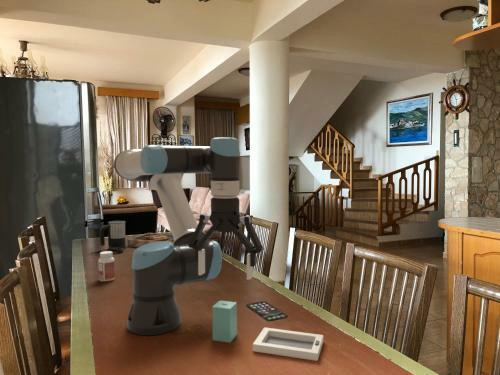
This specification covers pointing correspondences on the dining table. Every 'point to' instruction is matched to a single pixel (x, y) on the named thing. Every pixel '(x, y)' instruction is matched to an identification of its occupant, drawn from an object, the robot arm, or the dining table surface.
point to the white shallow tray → (289, 343)
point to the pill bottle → (106, 266)
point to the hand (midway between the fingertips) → (225, 276)
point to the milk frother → (114, 235)
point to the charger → (224, 321)
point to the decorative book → (157, 238)
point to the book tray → (140, 240)
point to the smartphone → (266, 311)
